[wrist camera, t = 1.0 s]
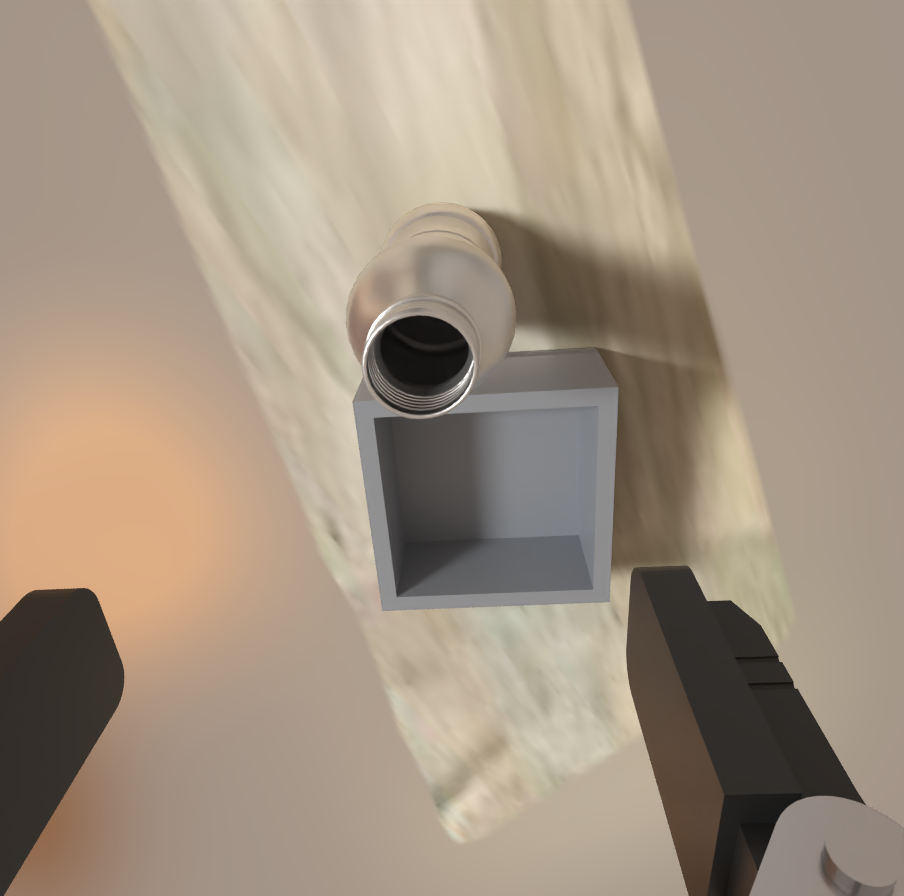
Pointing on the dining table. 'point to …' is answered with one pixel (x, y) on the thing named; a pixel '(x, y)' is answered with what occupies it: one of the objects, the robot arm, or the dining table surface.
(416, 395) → the plastic bottle
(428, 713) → the dining table surface
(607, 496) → the box
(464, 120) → the dining table surface
